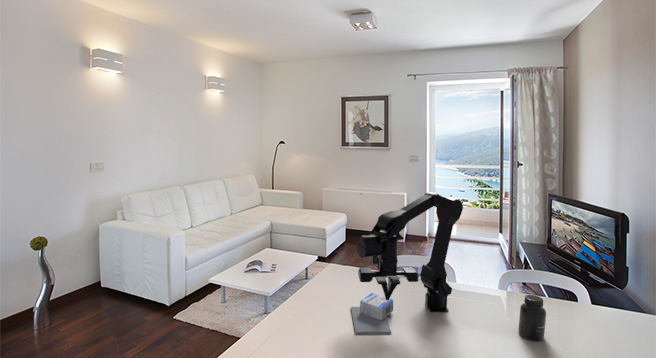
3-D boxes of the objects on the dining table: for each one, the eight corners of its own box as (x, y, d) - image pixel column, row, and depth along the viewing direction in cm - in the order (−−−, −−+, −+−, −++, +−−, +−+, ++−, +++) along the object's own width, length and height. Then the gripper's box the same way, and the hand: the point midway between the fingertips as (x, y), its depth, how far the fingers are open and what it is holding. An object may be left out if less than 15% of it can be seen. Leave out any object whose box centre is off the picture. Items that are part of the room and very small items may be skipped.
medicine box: (382, 308, 112) (359, 300, 117) (381, 321, 112) (359, 312, 118) (393, 299, 118) (371, 292, 123) (393, 311, 118) (371, 304, 124)
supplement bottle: (544, 344, 101) (547, 305, 99) (517, 337, 104) (520, 299, 103) (544, 333, 106) (547, 296, 105) (518, 327, 110) (521, 291, 109)
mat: (381, 308, 122) (381, 306, 122) (391, 333, 106) (391, 331, 106) (350, 308, 122) (350, 306, 122) (355, 334, 106) (355, 332, 106)
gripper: (410, 245, 120) (408, 288, 121) (356, 245, 119) (356, 289, 121) (419, 256, 109) (418, 303, 110) (360, 256, 108) (359, 304, 110)
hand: (387, 299), depth 113 cm, fingers closed
